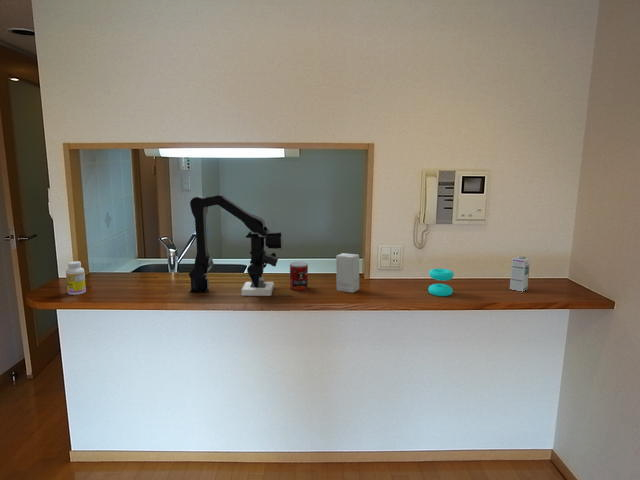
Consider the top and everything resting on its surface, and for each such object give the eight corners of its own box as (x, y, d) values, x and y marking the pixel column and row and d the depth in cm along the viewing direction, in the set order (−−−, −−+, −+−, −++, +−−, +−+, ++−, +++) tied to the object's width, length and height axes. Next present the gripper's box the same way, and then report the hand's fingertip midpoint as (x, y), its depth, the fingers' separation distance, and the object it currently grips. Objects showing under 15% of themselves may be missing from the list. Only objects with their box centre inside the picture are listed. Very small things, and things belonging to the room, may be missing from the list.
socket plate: (241, 295, 181) (241, 289, 180) (246, 287, 193) (246, 281, 192) (271, 295, 181) (270, 289, 181) (273, 287, 193) (273, 282, 192)
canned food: (292, 291, 187) (292, 266, 185) (288, 286, 195) (288, 262, 193) (309, 290, 189) (309, 265, 187) (305, 285, 197) (305, 261, 195)
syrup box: (522, 292, 189) (526, 259, 187) (509, 289, 193) (511, 257, 191) (527, 290, 193) (530, 257, 191) (513, 287, 197) (516, 255, 195)
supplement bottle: (65, 293, 182) (62, 262, 179) (82, 289, 187) (79, 259, 184) (71, 296, 177) (68, 265, 175) (88, 292, 182) (86, 262, 180)
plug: (251, 291, 185) (251, 279, 184) (253, 288, 189) (252, 277, 188) (263, 291, 185) (263, 279, 184) (264, 288, 189) (264, 277, 188)
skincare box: (359, 289, 191) (360, 254, 188) (352, 293, 185) (353, 257, 183) (342, 286, 195) (343, 252, 192) (335, 290, 190) (335, 254, 187)
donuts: (433, 266, 192) (456, 269, 187) (432, 288, 194) (455, 292, 188) (426, 271, 184) (450, 274, 178) (424, 294, 185) (448, 298, 180)
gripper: (275, 253, 175) (275, 291, 177) (278, 244, 193) (278, 278, 196) (246, 252, 174) (247, 290, 177) (253, 244, 193) (253, 278, 195)
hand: (258, 284), depth 186 cm, fingers open, 9 cm apart
